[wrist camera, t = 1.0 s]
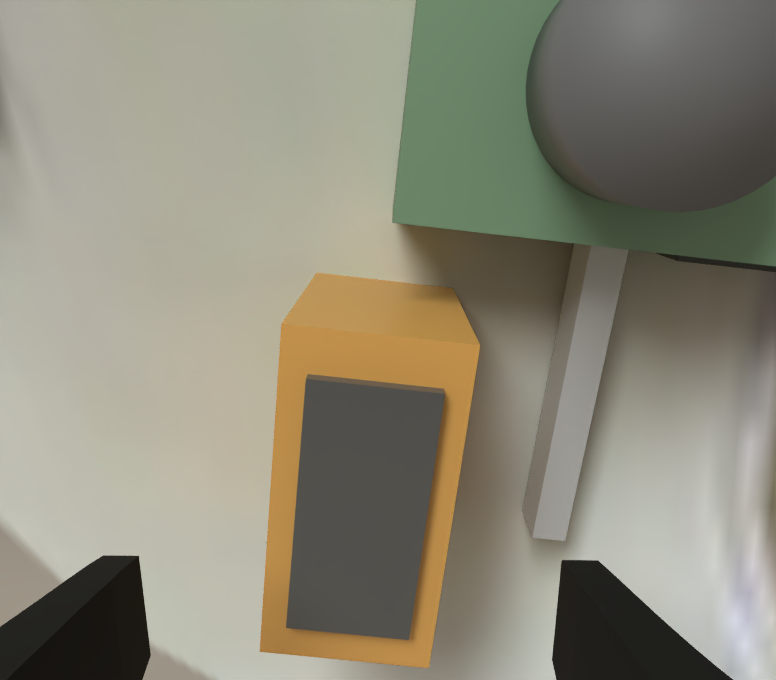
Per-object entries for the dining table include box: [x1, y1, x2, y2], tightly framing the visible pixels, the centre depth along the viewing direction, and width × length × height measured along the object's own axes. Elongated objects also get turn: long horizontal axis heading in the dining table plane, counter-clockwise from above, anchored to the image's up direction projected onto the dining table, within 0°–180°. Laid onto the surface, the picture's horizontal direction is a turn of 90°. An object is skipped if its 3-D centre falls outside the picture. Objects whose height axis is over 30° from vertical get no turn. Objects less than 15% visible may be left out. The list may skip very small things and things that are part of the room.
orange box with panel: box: [260, 273, 480, 668], centre depth 16 cm, size 4×8×6 cm, turn 174°
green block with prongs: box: [392, 0, 776, 541], centre depth 15 cm, size 15×16×6 cm
